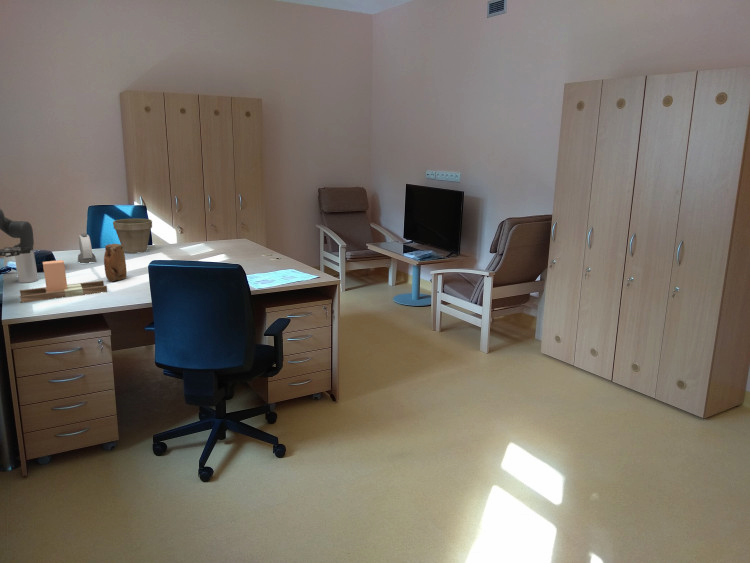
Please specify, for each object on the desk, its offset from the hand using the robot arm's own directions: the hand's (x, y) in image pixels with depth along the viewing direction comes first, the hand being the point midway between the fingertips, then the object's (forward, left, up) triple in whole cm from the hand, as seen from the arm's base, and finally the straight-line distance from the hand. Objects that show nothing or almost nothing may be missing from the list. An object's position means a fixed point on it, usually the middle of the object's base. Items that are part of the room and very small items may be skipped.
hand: (29, 250), depth 271 cm
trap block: (0, +9, -21) cm, 23 cm away
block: (-18, +39, -24) cm, 49 cm away
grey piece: (-77, +30, -24) cm, 86 cm away
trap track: (0, +12, -24) cm, 27 cm away
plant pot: (-97, +63, -24) cm, 118 cm away
